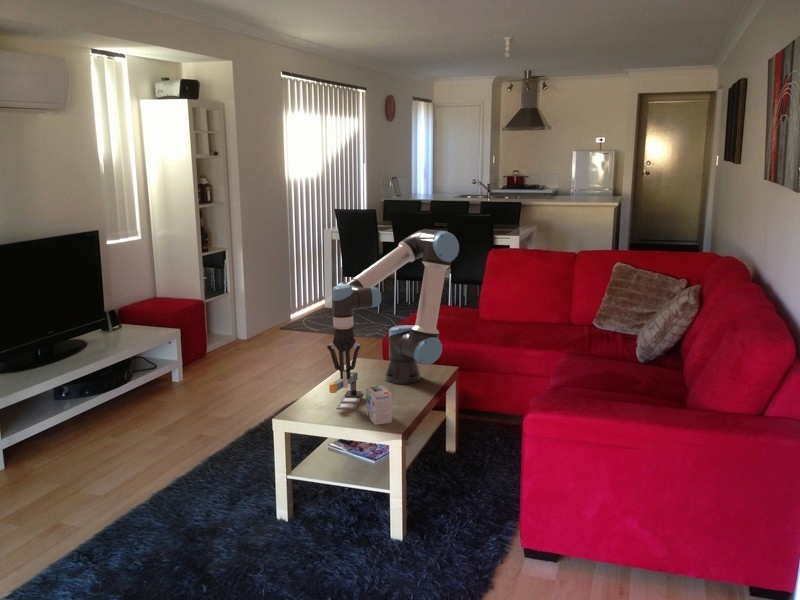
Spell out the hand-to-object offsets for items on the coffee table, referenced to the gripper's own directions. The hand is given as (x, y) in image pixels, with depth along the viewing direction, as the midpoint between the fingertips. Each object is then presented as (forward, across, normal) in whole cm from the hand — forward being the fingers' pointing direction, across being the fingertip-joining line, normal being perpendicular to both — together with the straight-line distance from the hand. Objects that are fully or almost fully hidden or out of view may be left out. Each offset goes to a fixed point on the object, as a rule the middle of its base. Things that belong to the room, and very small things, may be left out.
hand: (345, 387), depth 268 cm
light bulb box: (+7, -15, +14) cm, 22 cm away
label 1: (+7, -1, -4) cm, 8 cm away
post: (+7, -1, -10) cm, 12 cm away
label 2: (+7, -1, +3) cm, 8 cm away
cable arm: (0, +1, -3) cm, 3 cm away
